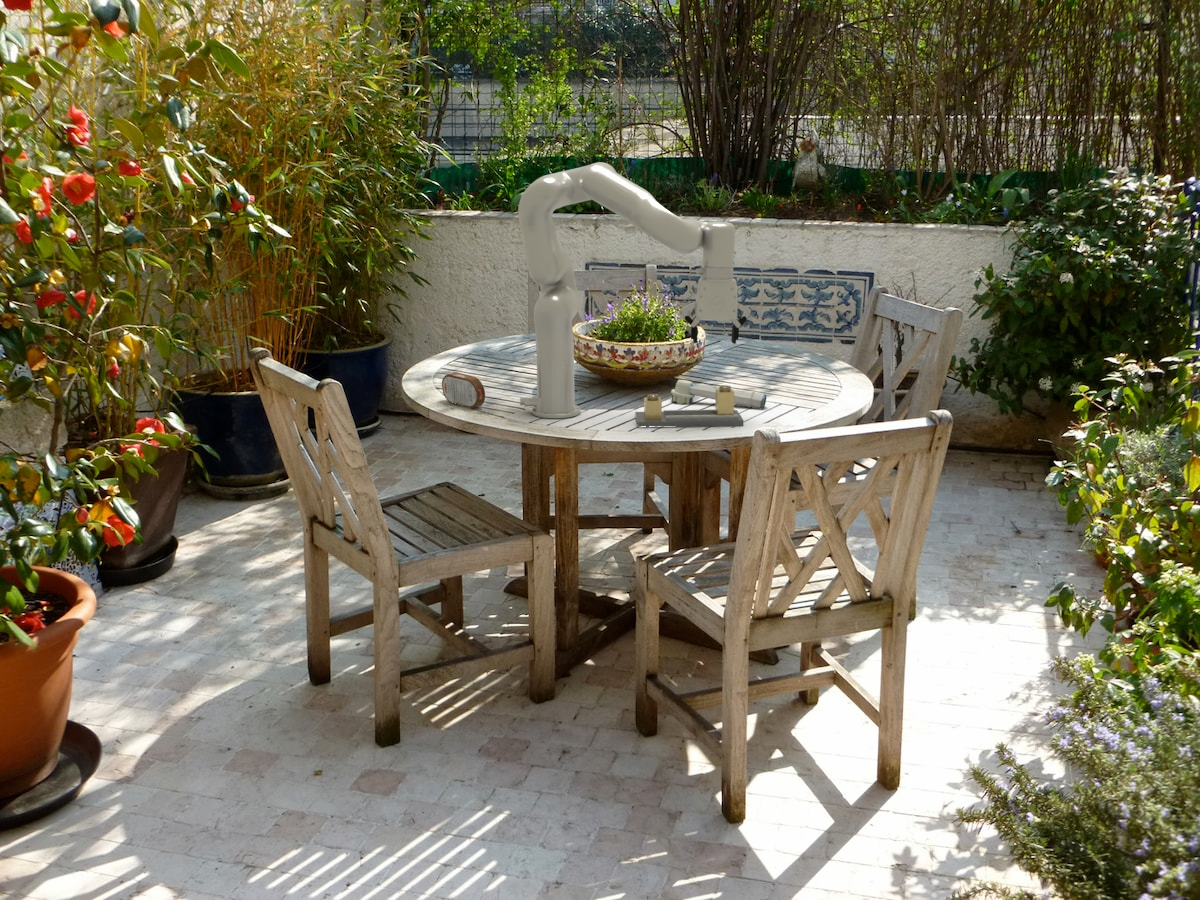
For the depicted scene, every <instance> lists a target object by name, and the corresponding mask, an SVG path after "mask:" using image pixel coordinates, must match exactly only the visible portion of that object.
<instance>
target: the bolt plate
mask: <svg viewBox="0 0 1200 900" xmlns="http://www.w3.org/2000/svg"><path fill="white" fill-rule="evenodd" d="M635 417H636V418H635ZM634 418H635V421H637V422H636V424H637V423H638V425H637V427H638V426H646V427H649V426H676V427H675V428H700V427H701V428H702V427H704V428H705V427H707V428H708V427H709V428H712V427H744V422H745V421H744V419H743V417H742V415H741V414H740V413H739V411H738V409H737V410H736V409H735V408H734V414H733V415H717V414H716V412H715V408H714V409H710V408H709V409H664V410H662V419H645V416H644V411H635V412H634Z"/></svg>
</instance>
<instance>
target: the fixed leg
mask: <svg viewBox="0 0 1200 900" xmlns="http://www.w3.org/2000/svg"><path fill="white" fill-rule="evenodd" d="M662 403H663V401H662V399H661V396H659V394H657V393H648V394H647V396H646V397H644V399H643V408H644V409H643V412H644V416H645V419H662V411H663V410H662V409H663V408H662V407H663V404H662Z"/></svg>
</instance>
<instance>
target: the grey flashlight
mask: <svg viewBox="0 0 1200 900" xmlns="http://www.w3.org/2000/svg"><path fill="white" fill-rule="evenodd" d="M716 389H719V386H714V385H713V386H711V385H706V384H705V385H704V384H700V383H699V384H697V383H693V382H692V381H690V380H686V379H678V380H677V382H676V383H675V388H674V389H671V391H670V394H672V395H671V401H672V402H673V403H674V402H676V404H679V405H683V404H686V405H689V404H690V405H691V404H692V403H693V401H694V398H695V397H701V398H704V399H711V400H715V401H716ZM731 389H732V388H731ZM732 390H733V391H734V405H738V406H743V407H746V408H747V407H748V409H751V408H750V407H752V409H756V408H762V409H761V410H763V409H765V406H766V403H767V395H766V394H762V393H757V392H755V391H754V390H753V391H746V390H740V389H738V390H737V389H732Z"/></svg>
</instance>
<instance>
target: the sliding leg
mask: <svg viewBox="0 0 1200 900" xmlns="http://www.w3.org/2000/svg"><path fill="white" fill-rule="evenodd" d="M718 387H719V389H716V400H715V408H714V409H715V412H716V414H717V415H733V414H734V409H735V404H734V391H733V390H734V389H733V390H732V388H731V385H728V384H727V385H719V386H718Z"/></svg>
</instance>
